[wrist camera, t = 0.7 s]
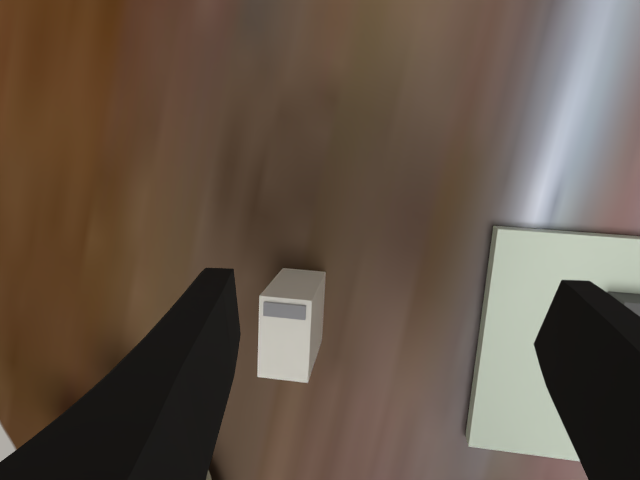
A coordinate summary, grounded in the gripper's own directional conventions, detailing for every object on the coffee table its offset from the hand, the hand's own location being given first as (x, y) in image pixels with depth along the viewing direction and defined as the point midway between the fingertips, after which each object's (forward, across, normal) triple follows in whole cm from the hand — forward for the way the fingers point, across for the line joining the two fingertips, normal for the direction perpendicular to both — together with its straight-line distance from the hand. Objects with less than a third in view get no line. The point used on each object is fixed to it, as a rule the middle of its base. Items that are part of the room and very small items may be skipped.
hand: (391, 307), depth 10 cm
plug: (+16, +3, +15) cm, 22 cm away
